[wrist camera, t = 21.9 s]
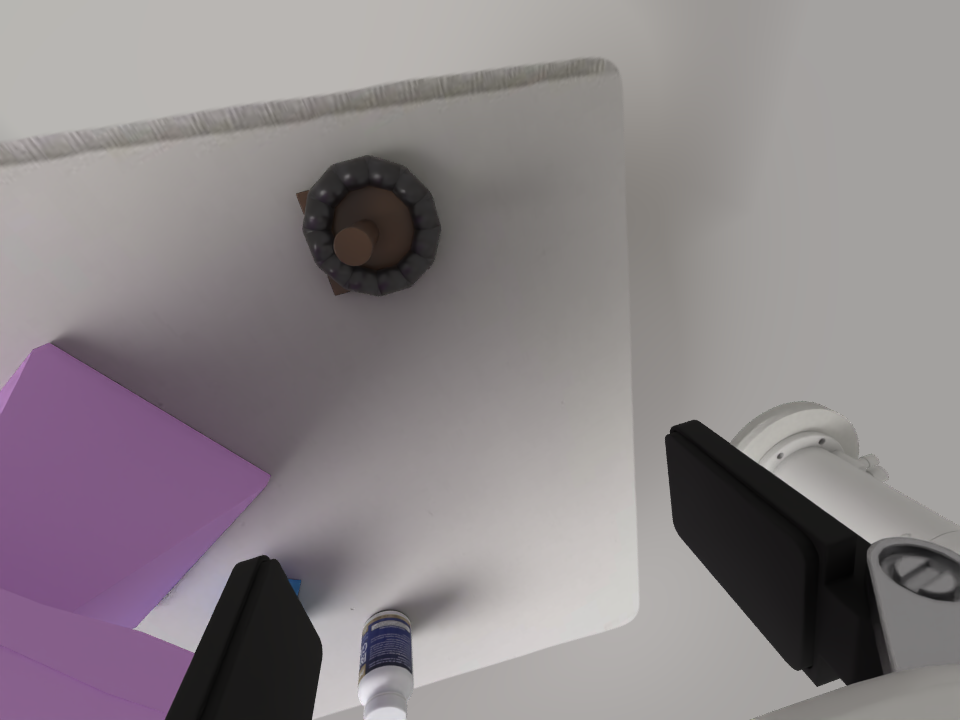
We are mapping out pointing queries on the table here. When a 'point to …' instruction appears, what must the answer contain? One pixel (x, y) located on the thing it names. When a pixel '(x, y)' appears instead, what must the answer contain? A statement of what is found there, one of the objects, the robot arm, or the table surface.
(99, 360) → the table surface
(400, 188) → the ring
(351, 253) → the stand
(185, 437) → the purple table lamp
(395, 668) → the pill bottle
